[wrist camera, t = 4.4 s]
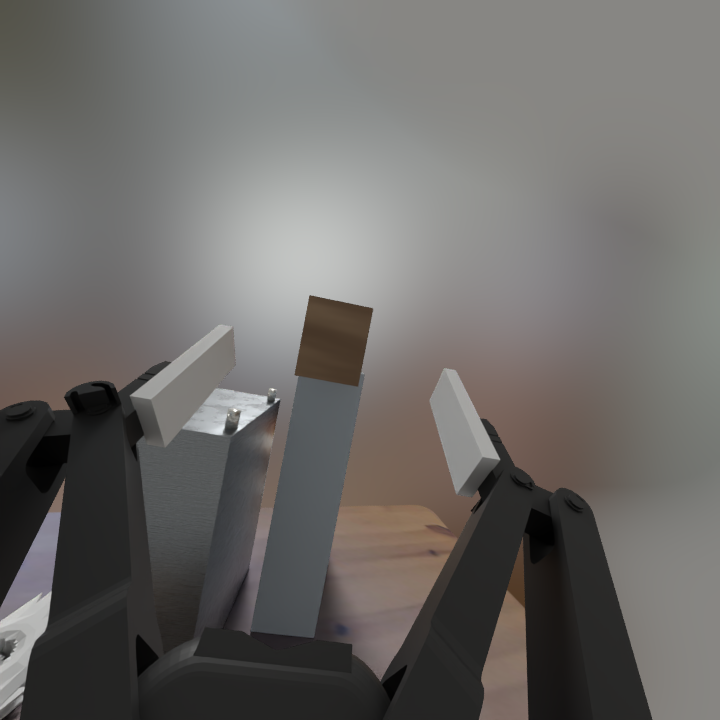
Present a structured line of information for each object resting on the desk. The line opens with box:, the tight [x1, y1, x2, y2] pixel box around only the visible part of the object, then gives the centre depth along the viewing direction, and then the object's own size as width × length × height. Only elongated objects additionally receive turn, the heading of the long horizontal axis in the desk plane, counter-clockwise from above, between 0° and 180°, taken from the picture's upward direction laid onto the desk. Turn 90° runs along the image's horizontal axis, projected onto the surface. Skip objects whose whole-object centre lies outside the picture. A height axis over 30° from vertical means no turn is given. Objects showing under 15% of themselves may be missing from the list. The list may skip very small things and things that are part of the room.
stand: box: [251, 372, 364, 638], centre depth 35 cm, size 7×14×30 cm, turn 4°
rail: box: [295, 295, 373, 387], centre depth 30 cm, size 28×4×5 cm, turn 4°
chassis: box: [137, 388, 281, 655], centre depth 27 cm, size 10×16×26 cm, turn 4°
